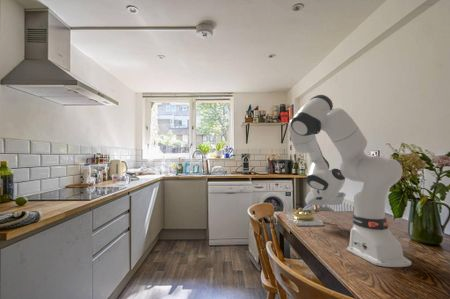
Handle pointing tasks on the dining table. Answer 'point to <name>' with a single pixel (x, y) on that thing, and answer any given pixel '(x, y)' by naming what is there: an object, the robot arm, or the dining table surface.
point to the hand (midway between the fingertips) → (320, 207)
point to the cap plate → (304, 221)
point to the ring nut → (305, 213)
